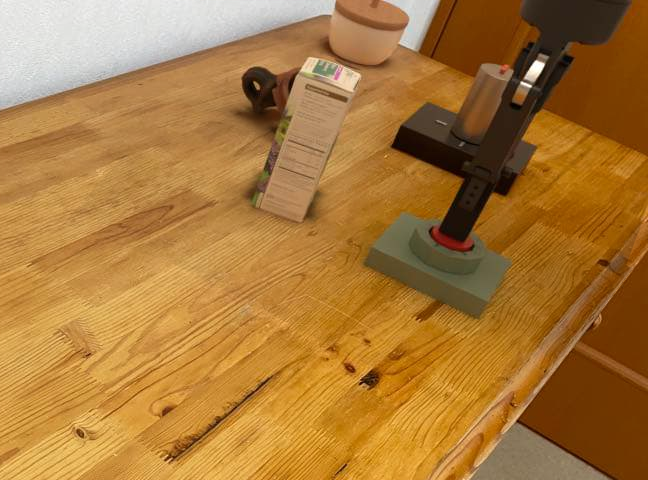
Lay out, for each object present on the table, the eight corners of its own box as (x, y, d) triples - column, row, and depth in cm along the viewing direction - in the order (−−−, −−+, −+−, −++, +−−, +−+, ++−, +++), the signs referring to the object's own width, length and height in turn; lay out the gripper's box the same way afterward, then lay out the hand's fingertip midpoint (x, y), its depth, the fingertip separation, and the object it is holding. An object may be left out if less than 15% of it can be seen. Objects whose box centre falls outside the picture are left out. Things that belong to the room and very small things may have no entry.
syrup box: (261, 185, 93) (305, 53, 83) (313, 202, 92) (363, 71, 82) (249, 207, 89) (294, 71, 79) (303, 226, 88) (355, 90, 78)
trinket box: (387, 58, 130) (413, -5, 124) (389, 84, 122) (416, 17, 116) (319, 40, 131) (341, -24, 124) (316, 64, 123) (340, -3, 116)
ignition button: (469, 251, 85) (477, 237, 84) (458, 267, 82) (466, 252, 81) (432, 234, 86) (439, 219, 85) (420, 249, 83) (427, 234, 82)
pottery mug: (318, 120, 110) (353, 81, 102) (297, 176, 106) (331, 140, 99) (237, 74, 108) (267, 31, 100) (213, 130, 104) (242, 89, 97)
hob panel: (526, 167, 109) (538, 145, 107) (505, 196, 102) (518, 172, 100) (417, 122, 114) (427, 100, 112) (390, 147, 106) (401, 123, 104)
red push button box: (502, 278, 87) (522, 245, 85) (477, 320, 81) (497, 286, 78) (395, 228, 91) (410, 195, 88) (362, 265, 84) (378, 230, 82)
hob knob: (484, 149, 103) (519, 82, 98) (446, 133, 105) (477, 67, 99) (494, 137, 107) (528, 72, 101) (456, 121, 108) (487, 57, 102)
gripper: (558, -49, 72) (436, 195, 88) (524, -25, 64) (396, 241, 80) (647, -19, 70) (505, 226, 86) (624, 10, 61) (471, 277, 77)
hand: (453, 233), depth 83 cm, fingers closed
